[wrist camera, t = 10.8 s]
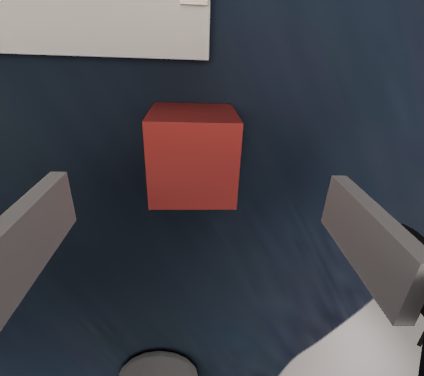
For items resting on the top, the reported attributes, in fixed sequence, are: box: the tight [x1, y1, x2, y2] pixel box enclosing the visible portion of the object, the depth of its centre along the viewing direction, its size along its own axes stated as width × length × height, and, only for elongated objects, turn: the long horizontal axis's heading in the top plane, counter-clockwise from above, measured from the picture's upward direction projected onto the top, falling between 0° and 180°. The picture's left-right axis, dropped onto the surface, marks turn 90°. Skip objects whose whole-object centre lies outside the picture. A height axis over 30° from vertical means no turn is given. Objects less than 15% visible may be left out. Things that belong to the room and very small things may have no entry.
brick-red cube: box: [142, 102, 243, 210], centre depth 21 cm, size 6×6×6 cm
